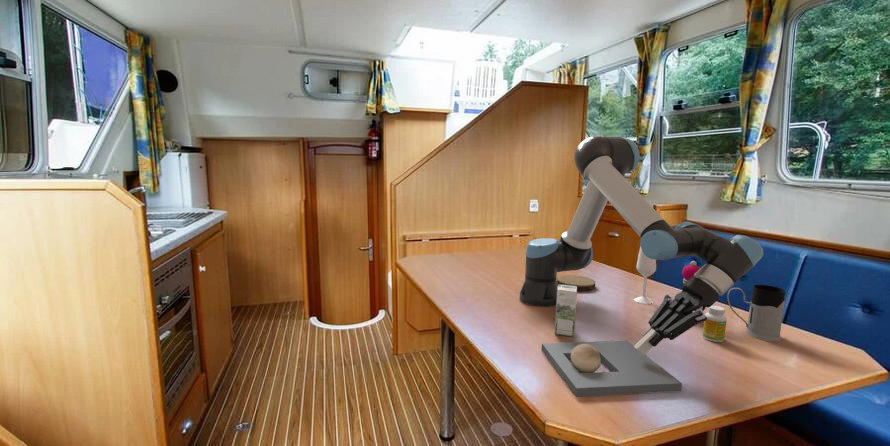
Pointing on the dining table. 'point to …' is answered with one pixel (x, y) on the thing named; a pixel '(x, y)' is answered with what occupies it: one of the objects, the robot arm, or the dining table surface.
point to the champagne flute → (645, 274)
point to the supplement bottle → (715, 324)
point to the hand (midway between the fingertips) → (638, 351)
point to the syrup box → (565, 310)
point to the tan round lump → (585, 358)
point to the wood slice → (577, 282)
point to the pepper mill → (689, 271)
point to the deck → (623, 362)
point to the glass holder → (764, 312)
